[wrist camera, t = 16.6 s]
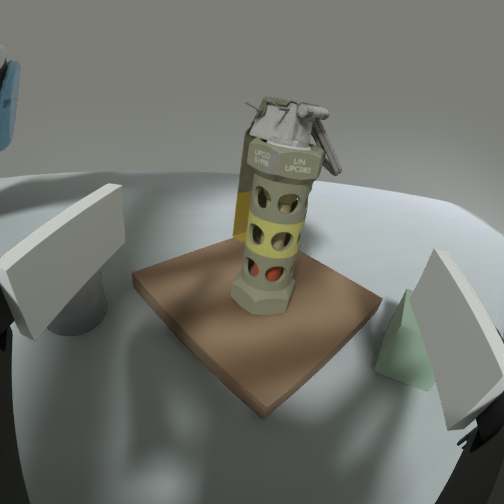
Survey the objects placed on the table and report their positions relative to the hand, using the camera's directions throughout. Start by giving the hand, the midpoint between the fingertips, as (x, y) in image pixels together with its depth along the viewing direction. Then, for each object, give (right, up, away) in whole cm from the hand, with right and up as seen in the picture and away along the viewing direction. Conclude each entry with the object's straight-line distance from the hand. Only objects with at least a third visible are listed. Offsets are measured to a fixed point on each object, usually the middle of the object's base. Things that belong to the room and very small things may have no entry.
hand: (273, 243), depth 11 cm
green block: (+12, -9, +10) cm, 18 cm away
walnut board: (0, -5, +14) cm, 15 cm away
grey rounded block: (-16, -5, +10) cm, 19 cm away
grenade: (0, -4, +14) cm, 14 cm away
